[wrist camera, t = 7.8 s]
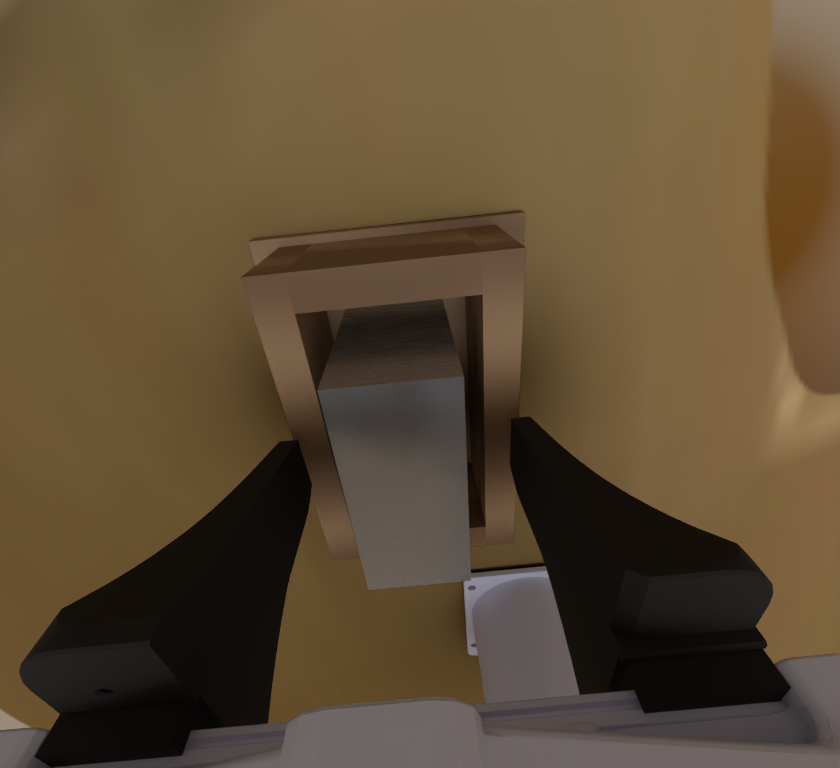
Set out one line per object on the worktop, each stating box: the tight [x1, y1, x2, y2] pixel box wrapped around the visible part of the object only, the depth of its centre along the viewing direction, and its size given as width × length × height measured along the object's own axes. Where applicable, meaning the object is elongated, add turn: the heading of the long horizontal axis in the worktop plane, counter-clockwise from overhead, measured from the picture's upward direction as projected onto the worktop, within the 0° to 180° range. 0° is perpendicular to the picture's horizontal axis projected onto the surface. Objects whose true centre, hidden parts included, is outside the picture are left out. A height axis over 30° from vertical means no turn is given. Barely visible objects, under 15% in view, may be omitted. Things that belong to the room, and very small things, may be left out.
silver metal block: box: [317, 299, 471, 590], centre depth 14 cm, size 8×4×7 cm, turn 5°
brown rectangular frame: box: [241, 211, 526, 560], centre depth 16 cm, size 13×10×4 cm
